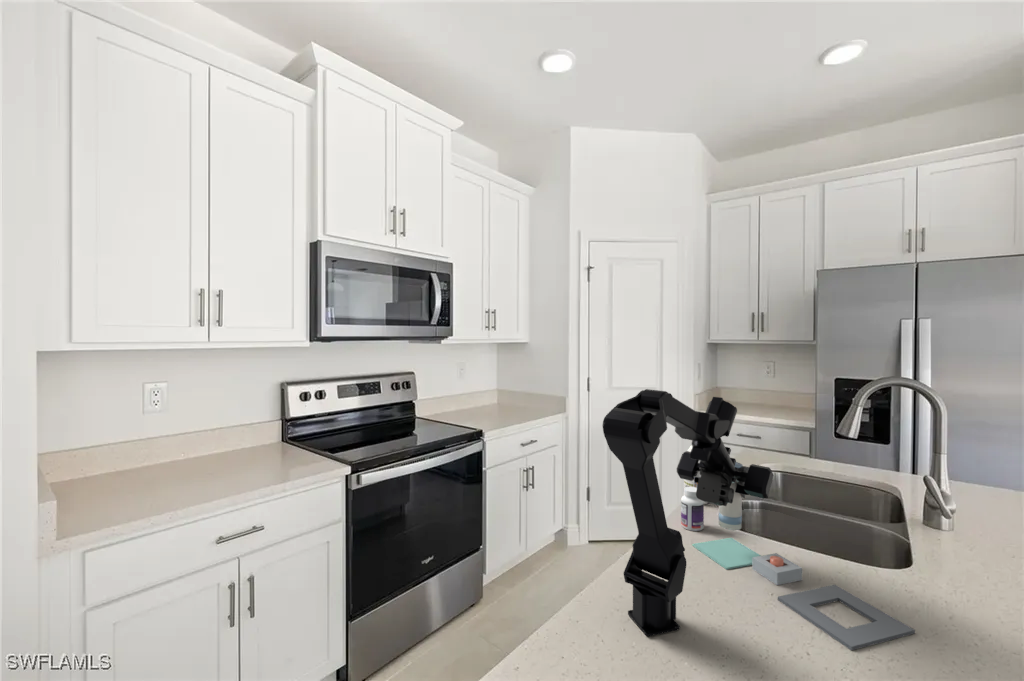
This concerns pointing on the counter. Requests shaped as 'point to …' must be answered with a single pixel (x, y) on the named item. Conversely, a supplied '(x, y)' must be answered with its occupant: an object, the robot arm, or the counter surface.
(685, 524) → the pill bottle
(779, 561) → the release button
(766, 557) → the block
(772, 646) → the counter surface
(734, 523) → the cartridge
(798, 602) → the port plate
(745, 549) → the rubber mat
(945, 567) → the counter surface
